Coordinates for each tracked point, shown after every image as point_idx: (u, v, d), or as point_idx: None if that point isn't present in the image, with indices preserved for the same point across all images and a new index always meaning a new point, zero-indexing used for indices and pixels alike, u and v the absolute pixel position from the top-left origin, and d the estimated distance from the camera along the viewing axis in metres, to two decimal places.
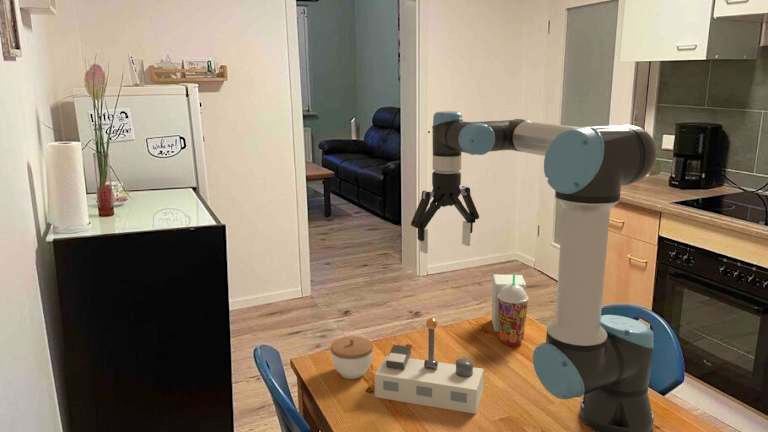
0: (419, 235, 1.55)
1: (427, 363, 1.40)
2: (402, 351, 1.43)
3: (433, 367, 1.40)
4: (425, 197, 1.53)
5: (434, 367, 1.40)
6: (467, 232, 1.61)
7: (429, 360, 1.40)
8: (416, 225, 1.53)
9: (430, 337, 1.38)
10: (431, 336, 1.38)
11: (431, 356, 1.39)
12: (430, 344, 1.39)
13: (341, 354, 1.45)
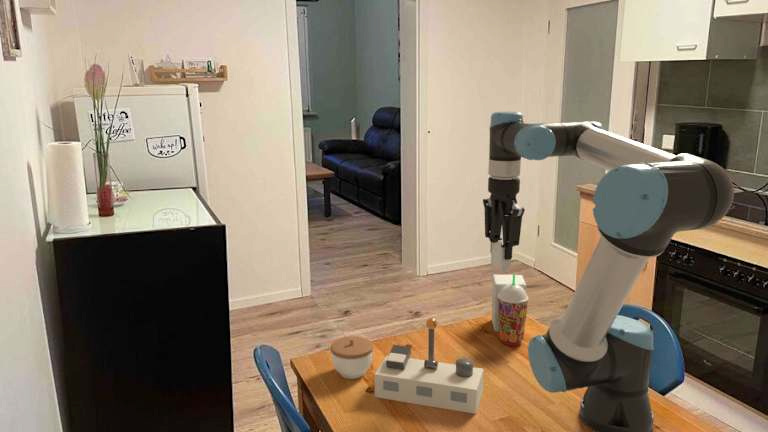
0: None
1: (427, 363, 1.40)
2: (402, 351, 1.43)
3: (433, 367, 1.40)
4: None
5: (434, 367, 1.40)
6: None
7: (429, 360, 1.40)
8: (485, 235, 1.50)
9: (430, 337, 1.38)
10: (431, 336, 1.38)
11: (431, 356, 1.39)
12: (430, 344, 1.39)
13: (341, 354, 1.45)
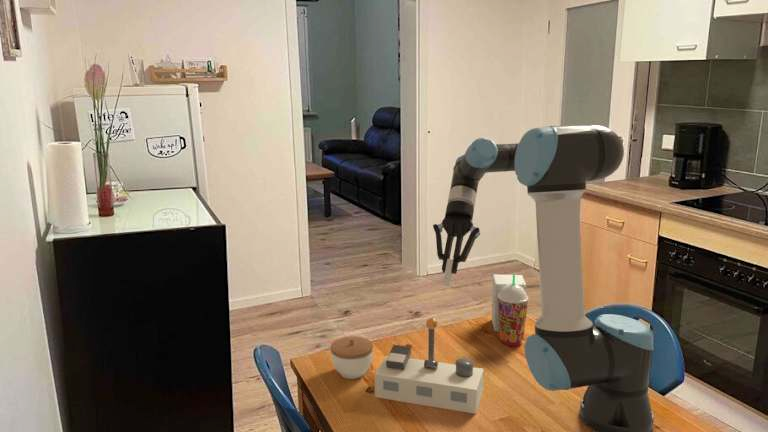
0: None
1: (427, 363, 1.40)
2: (402, 351, 1.43)
3: (433, 367, 1.40)
4: (434, 230, 1.60)
5: (434, 367, 1.40)
6: None
7: (429, 360, 1.40)
8: (438, 253, 1.56)
9: (430, 337, 1.38)
10: (431, 336, 1.38)
11: (431, 356, 1.39)
12: (430, 344, 1.39)
13: (341, 354, 1.45)
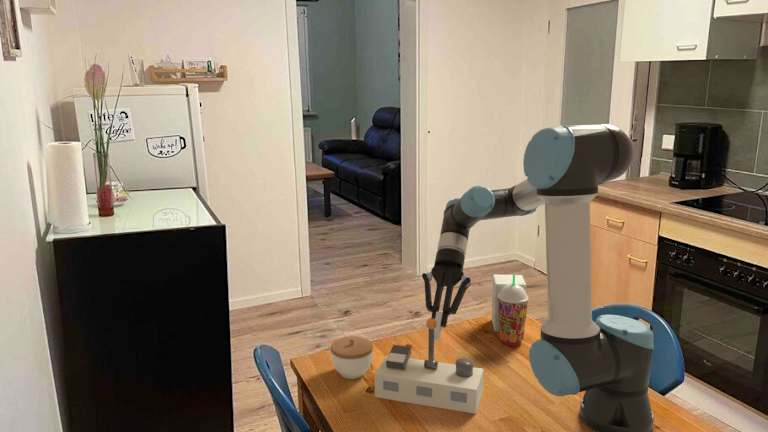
0: None
1: (427, 363, 1.40)
2: (402, 351, 1.43)
3: (433, 367, 1.40)
4: (423, 279, 1.53)
5: (434, 367, 1.40)
6: None
7: (429, 360, 1.40)
8: (427, 305, 1.48)
9: (430, 337, 1.38)
10: (431, 336, 1.38)
11: (431, 356, 1.39)
12: (430, 344, 1.39)
13: (341, 354, 1.45)
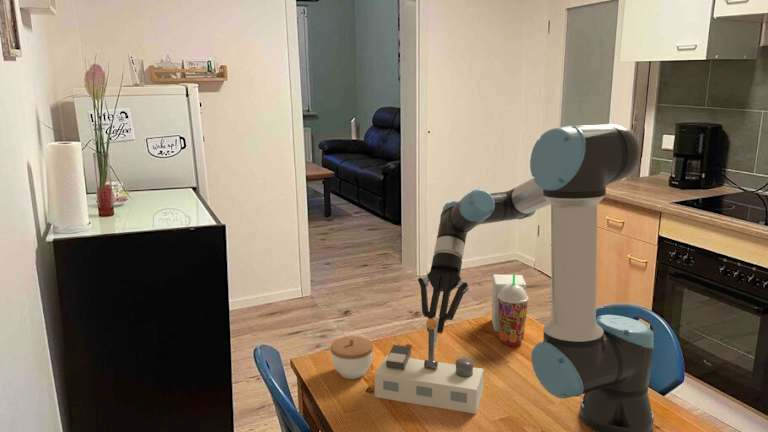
0: None
1: (427, 363, 1.40)
2: (402, 351, 1.43)
3: (433, 367, 1.40)
4: None
5: (434, 367, 1.40)
6: None
7: (429, 360, 1.40)
8: (423, 311, 1.45)
9: (430, 337, 1.38)
10: (431, 336, 1.38)
11: (431, 356, 1.39)
12: (430, 344, 1.39)
13: (341, 354, 1.45)
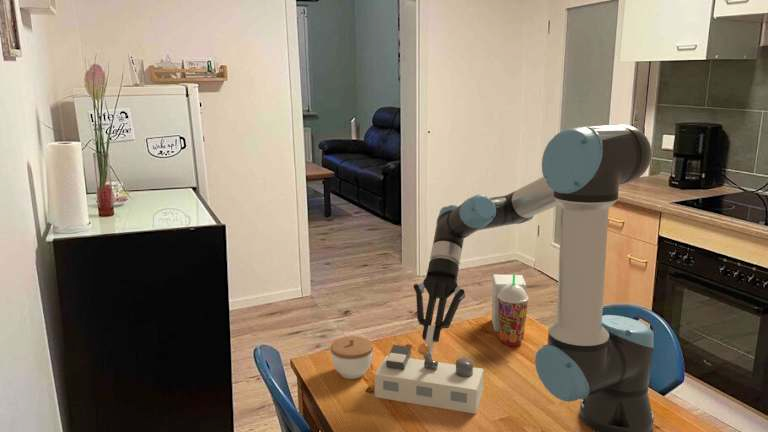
0: (423, 332, 1.39)
1: (427, 366, 1.40)
2: (402, 351, 1.43)
3: (433, 368, 1.40)
4: (415, 290, 1.45)
5: (434, 368, 1.40)
6: None
7: (428, 364, 1.39)
8: (418, 318, 1.40)
9: (425, 356, 1.34)
10: (426, 356, 1.34)
11: (429, 363, 1.38)
12: (426, 359, 1.36)
13: (341, 354, 1.45)
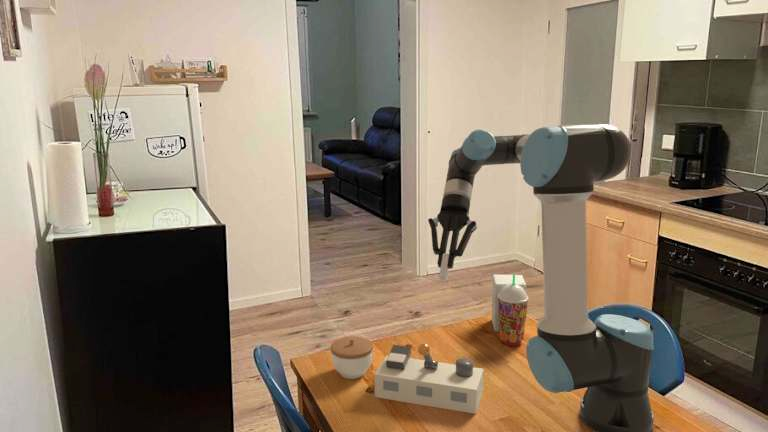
0: (438, 260, 1.50)
1: (427, 366, 1.40)
2: (402, 351, 1.43)
3: (433, 368, 1.40)
4: (430, 224, 1.56)
5: (434, 368, 1.40)
6: None
7: (428, 364, 1.39)
8: (433, 248, 1.51)
9: (425, 356, 1.34)
10: (426, 356, 1.34)
11: (429, 363, 1.38)
12: (426, 359, 1.36)
13: (341, 354, 1.45)
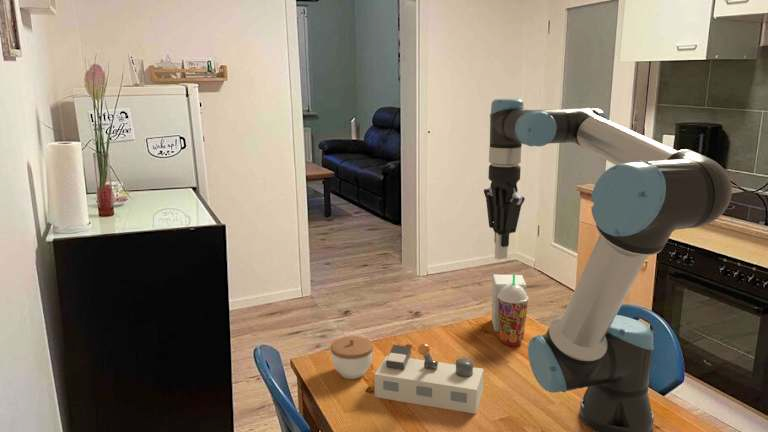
0: None
1: (427, 366, 1.40)
2: (402, 351, 1.43)
3: (433, 368, 1.40)
4: None
5: (434, 368, 1.40)
6: None
7: (428, 364, 1.39)
8: (489, 225, 1.48)
9: (425, 356, 1.34)
10: (426, 356, 1.34)
11: (429, 363, 1.38)
12: (426, 359, 1.36)
13: (341, 354, 1.45)
